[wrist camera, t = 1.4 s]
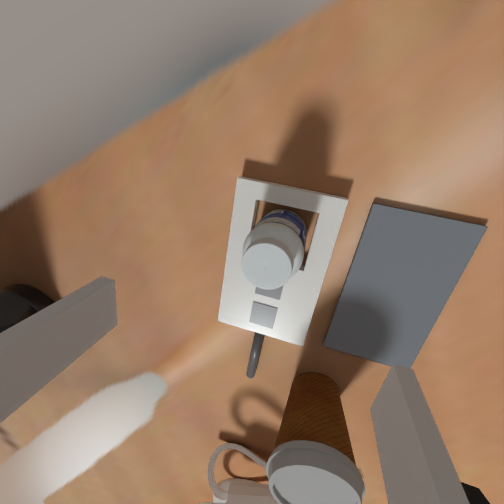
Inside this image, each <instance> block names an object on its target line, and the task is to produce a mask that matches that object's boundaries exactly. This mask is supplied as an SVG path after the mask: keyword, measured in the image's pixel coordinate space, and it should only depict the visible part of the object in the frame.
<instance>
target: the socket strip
mask: <svg viewBox="0 0 504 504" xmlns="http://www.w3.org/2000/svg"><path fill="white" fill-rule="evenodd" d="M259 200H261V201H266V202H271V203H275V204H280V205H284V206H289V207H294V208H298V209H303V210H308V211H312V212H317V213H319V214H318V218H317V221H316V225H315V229H314V232H313V236H312V240H311V243H310V247H309V251H308V254H307V258H306V262H305V265H301V267H300V269H299V270H298V271H297V273H296V274H295V275H294V276H292V277H291V278H289V280H288V281H287V282H286V283H285V284H284V285H283V286H281V287H279V288H277V289H272V290H266V289H261V288H258V287H256V286H254V285H253V284H251V283H250V282H249V281H248V280H247V279H246V277H245V276H244V274H243V271H242V266H241V262H242V257H243V254H242V250H243V244H244V241H245V239H246V237H247V236H248V234H249V233H250V231H251V230H252V229H253V228H254V224H255V218H256V213H257V207H258V201H259ZM347 203H348V199H347V198H346V197H341V196H336V195H331V194H327V193H322V192H317V191H312V190H307V189H302V188H297V187H292V186H287V185H282V184H277V183H272V182H267V181H262V180H257V179H253V178H248V177H243V176H241V177H238V178H237V184H236V192H235V199H234V206H233V214H232V221H231V228H230V235H229V243H228V250H227V257H226V265H225V272H224V279H223V286H222V294H221V301H220V308H219V315H218V321H220V322H223V323H226V324H230V325H233V326H236V327H240V328H243V329H247V330H250V331H253V332H255V335H254V340H253V345H252V349H251V354H250V359H249V363H248V368H247V373H246V374H247V376H248V377H249V378H253V377H254V376H255V372H256V368H257V363H258V359H259V355H260V350H261V346H262V342H263V337H264V335H267V336H270V337H273V338H277V339H280V340H283V341H287V342H290V343H293V344H297V345H300V346H303V344H304V341H305V338H306V334H307V331H308V328H309V325H310V322H311V318H312V315H313V312H314V309H315V306H316V302H317V299H318V296H319V293H320V290H321V286H322V283H323V280H324V277H325V274H326V270H327V267H328V264H329V261H330V258H331V254H332V251H333V248H334V245H335V242H336V238H337V235H338V232H339V229H340V226H341V223H342V219H343V216H344V213H345V210H346V207H347Z"/></svg>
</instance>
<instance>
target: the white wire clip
mask: <svg viewBox="0 0 504 504" xmlns="http://www.w3.org/2000/svg"><path fill="white" fill-rule="evenodd" d="M225 449H235V450H238V451H240V452H242V453H244V454H245V455H247V456H248V457H250V458H251V459H252V460H254V461H255V462H256V463H258V464H259V465H261V466H262V467H264V468H265V469H266V464H267V462H266V461H265V460H263V459H262V458H260V457H259V456H257V455H256V454H255V453H253V452H252V451H251V450H249V449H247V448H246V447H244V446H242V445H239V444H236V443H225V444H223V445H221V446H220V447H218V448H217V449H216V450H215V451H214V453H213V455H212V457H211V459H210V462H209V467H208V480H209V485H210V487H211V489H212V491H213V503H199V504H279V503H278V502H277V501H276V500H275V499H274V498H273V496H272V494H271V492H270V490H269V485H268V484H262V483H259V482H256V481H253V480H247V479H240V478H228V479H224V480H222V481H220V482H219V483H216V481H215V477H214V466H215V461H216V459H217V457H218V455H219V454H220V452H222V451H223V450H225ZM226 490H228V491H226Z"/></svg>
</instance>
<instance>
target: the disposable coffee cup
mask: <svg viewBox="0 0 504 504" xmlns="http://www.w3.org/2000/svg"><path fill="white" fill-rule="evenodd" d="M355 464H356V463H355V459H354V455H353V452H352V447H351V442H350V438H349V434H348V429H347V425H346V421H345V416H344V412H343V408H342V403H341V399H340V395H339V390H338V387H337V386H336V384H335V383H334V382H333V381H332V380H331V379H329V378H328V377H326V376H324V375H321V374H318V373H305V374H302V375H299V376H298V377H296V378H295V379H294V381H293V383H292V386H291V390H290V394H289V397H288V401H287V405H286V408H285V412H284V416H283V419H282V423H281V427H280V430H279V434H278V437H277V441H276V445H275V448H274V451H273V452H272V454H271V456H270V457H269V459H268V461H267V464H266V473H267V476H268V483H269V490H270V492H271V494H272V496H273V498H274V499H275V500H276V501H277V502H278V503H279V504H362V499H363V498H364V494H365V486H364V482H363V480H362V477H361V475H360V473H359V471H358V469H357V467H356V465H355Z"/></svg>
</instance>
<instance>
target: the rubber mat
mask: <svg viewBox="0 0 504 504" xmlns="http://www.w3.org/2000/svg"><path fill="white" fill-rule="evenodd" d="M487 228H488V227H487V226H484V225H480V224H475V223H470V222H465V221H460V220H455V219H450V218H445V217H440V216H435V215H430V214H425V213H420V212H415V211H410V210H406V209H401V208H396V207H391V206H386V205H381V204H376V203H372V206H371V209H370V212H369V215H368V218H367V220H366V223H365V226H364V229H363V232H362V235H361V237H360V240H359V243H358V246H357V249H356V252H355V255H354V257H353V260H352V263H351V266H350V269H349V272H348V274H347V277H346V280H345V283H344V286H343V289H342V291H341V294H340V297H339V300H338V303H337V306H336V309H335V311H334V314H333V317H332V320H331V323H330V326H329V328H328V331H327V334H326V337H325V340H324V343H323V346H324V347H327V348H331V349H334V350H337V351H341V352H344V353H348V354H351V355H354V356H358V357H361V358H365V359H368V360H371V361H375V362H378V363H381V364H385V365H388V366H392V365H393V364H396V365H399V366H402V367H406V368H409V369H410V368H411V366H412V364H413V362H414V360H415V359H416V357H417V355H418V353H419V351H420V350H421V348H422V346H423V344H424V342H425V340H426V339H427V337H428V335H429V333H430V331H431V330H432V328H433V326H434V324H435V322H436V320H437V319H438V317H439V315H440V313H441V311H442V310H443V308H444V306H445V304H446V302H447V300H448V299H449V297H450V295H451V293H452V291H453V290H454V288H455V286H456V284H457V282H458V280H459V279H460V277H461V275H462V273H463V271H464V270H465V268H466V266H467V264H468V262H469V260H470V259H471V257H472V255H473V253H474V251H475V250H476V248H477V246H478V244H479V242H480V240H481V239H482V237H483V235H484V233H485V231H486V230H487Z"/></svg>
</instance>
